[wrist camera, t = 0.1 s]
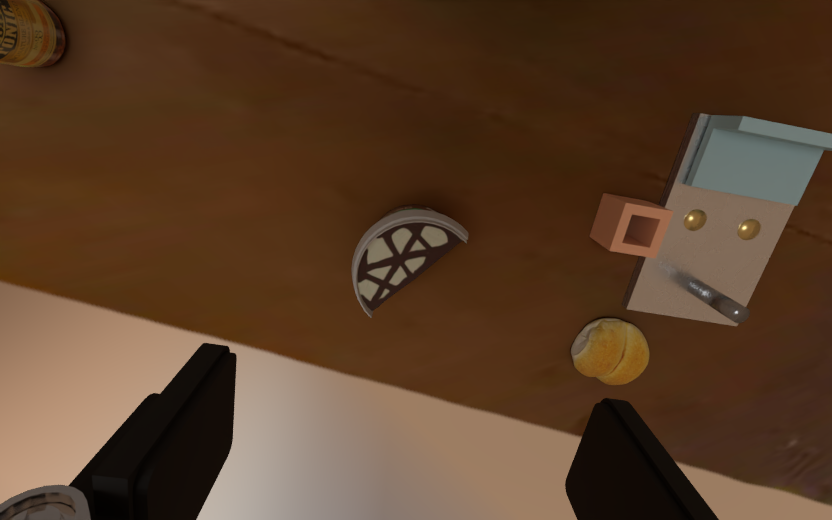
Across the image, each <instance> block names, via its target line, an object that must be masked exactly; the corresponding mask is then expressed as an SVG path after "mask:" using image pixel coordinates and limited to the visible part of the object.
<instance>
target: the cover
mask: <svg viewBox="0 0 832 520" xmlns="http://www.w3.org/2000/svg"><path fill="white" fill-rule="evenodd" d="M824 150H831V151H832V134H830V133H825V132H820V131H815V130H810V129H805V128H800V127H795V126H790V125H785V124H780V123H775V122H770V121H765V120H760V119H755V118H750V117H745V116H723V115H712V116H711V119H710V121H709V124H708V127H707V129H706V132H705V134H704V137H703V140H702V142H701V145H700V147H699V150H698V152H697V155H696V158H695V160H694V163H693V165H692V168H691V171H690V173H689V176H688V178H687V181H686V183H685V185H689V186H693V187H698V188H704V189H709V190H715V191H720V192H725V193H731V194H736V195H742V196H747V197H753V198H758V199H764V200H769V201H775V202H780V203H786V204H791V205H796V206H797V205H798V203H799V201H800V199H801V197H802V195H803V192H804V190H805V188H806V186H807V184H808V182H809V180H810V178H811V176H812V174H813V172H814V170H815V168H816V166H817V163H818V161H819V159H820V157H821V155H822V153H823V151H824Z"/></svg>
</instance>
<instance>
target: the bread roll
mask: <svg viewBox="0 0 832 520" xmlns="http://www.w3.org/2000/svg"><path fill="white" fill-rule="evenodd" d="M571 354H572V358H573V362H574V366H575V368H576V369H577V370H578V371H579V372H580V373H581V374H583V375H585V376H588V377H597V378H598V379H599V380H601V381H602V382H604V383H606V384H610V385H621V384H626V383H628V382H630V381H632V380H634V379H635V378H636V377H638V376H639V375H640V374H641V373H642V372H643V371H644V369H645V368H646V366H647V364H648V361H649V349H648V345H647V341H646V339H645V337H644V336H643V334H642V333H641V331H640V330H639V329H638V328H637V327H636V326H634V325H633V324H631V323H628V322H624V321H622V320H620V319H616V318H603V319H598V320H595V321H593V322H591V323H589V324H587V325H586V326H585V327H584V329H583V330H582V331H581V332H580V333H579V334H578V336H577V338H576V339H575V341H574V343H573V345H572V348H571Z"/></svg>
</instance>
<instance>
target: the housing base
mask: <svg viewBox="0 0 832 520" xmlns="http://www.w3.org/2000/svg"><path fill="white" fill-rule="evenodd" d="M711 116H712V115H707V114H702V113H693V114H692V117H691V120H690V122H689V125H688V128H687V131H686V133H685V136H684V139H683V141H682V144H681V147H680V149H679V152H678V155H677V157H676V160H675V163H674V165H673V168H672V171H671V173H670V176H669V179H668V181H667V184H666V187H665V190H664V192H663V195H662V198H661V200H660V203H659V206H661V207H664V208H667V209H669V210H672V211H674V212H673V215H672V217H671V220H670V222H669V225H668V228H667V230H666V233H665V235H664V238H663V240H662V243H661V246H660V248H659V251H658V253H657V256H656V258H650V257H644V256H640V257H639V259H638V262H637V265H636V267H635V270H634V273H633V275H632V278H631V281H630V283H629V286H628V289H627V291H626V294H625V297H624V299H623V302H622V306H624V307H625V308H626V309H629V310H635V311H642V312H648V313H655V314H661V315H668V316H674V317H681V318H687V319H694V320H700V321H706V322H713V323H719V324H726V325H732V326H737V324H738V323H741V322H744V321H745V320H746V319H747V318H748V317H749V314H750V312H749V309H748V308H746V306H747V304H748V302H749V299H750V297H751V295H752V293H753V291H754V289H755V287H756V285H757V283H758V281H759V279H760V277H761V275H762V272H763V270H764V268H765V266H766V264H767V262H768V260H769V258H770V256H771V254H772V252H773V250H774V247H775V245H776V243H777V241H778V239H779V237H780V235H781V233H782V231H783V229H784V227H785V225H786V223H787V220H788V218H789V216H790V214H791V212H792V210H793V208H794V206H795V205H791V204H786V203H780V202H775V201H769V200H764V199H758V198H753V197H747V196H742V195H736V194H731V193H725V192H720V191H715V190H709V189H704V188H698V187H693V186H689V185H685V183H686V181H687V178H688V176H689V173H690V171H691V168H692V165H693V163H694V160H695V158H696V155H697V152H698V150H699V147H700V145H701V142H702V140H703V137H704V134H705V132H706V129H707V127H708V124H709V121H710V119H711Z"/></svg>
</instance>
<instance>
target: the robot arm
mask: <svg viewBox="0 0 832 520" xmlns="http://www.w3.org/2000/svg"><path fill="white" fill-rule="evenodd" d="M235 378H236V354H235V353H230V350H229V347H228V346H223V345H216V344H209V343H203V344H202V345H201V346H200V347H199V348H198V350H197V351H196V352H195V353H194V355H193V356H192V357H191V358H190V359H189V361H188V362H187V363H186V364H185V365H184V366H183V368H182V369H181V370H180V371H179V372H178V373H177V375H176V376H175V377H174V378H173V379H172V381H171V382H170V383H169V384H168V385H167V386H166V388H165V389H164V390H163V391H162V392H161V394H156V393H153V394H150V395H149V396H148V397H147V398H145V399H144V401H143V402H142V403H141V404H140V405H139V406H138V407H137V409H136V410H135V411H134V412H133V413H132V414H131V415H130V416H129V418H128V419H127V420H126V421H125V422H124V423H123V424H122V426H121V427H120V428H119V429H118V430H117V431H116V432H115V433H114V435H113V436H112V437H111V438H110V439H109V440H108V441H107V443H106V444H105V445H104V446H103V447H102V448H101V449H100V451H99V452H98V453H97V454H96V455H95V456H94V457H93V458H92V460H91V461H90V462H89V463H88V464H87V465H86V466H85V468H84V469H83V470H82V471H81V472H80V473H79V474H78V475H77V477H76V478H75V479H74V480H73V481H72V483H70V485H69V486H65V485H51V486H43V487H39V488H35V489H31V490H28V491H26V492H23V493H21V494H19V495H16V496H14V497H12V498H10V499H8V500H7V501H5V502H4V503H2V504H0V520H196V519H197V516H198V515H199V513H200V511H201V509H202V506H203V505H204V502H205V501H206V499H207V497H208V495H209V493H210V491H211V489H212V487H213V485H214V483H215V481H216V479H217V477H218V475H219V473H220V471H221V469H222V467H223V465H224V463H225V461H226V459H227V457H228V454H229V452H230V449H231V445H232V439H233V420H234V398H235ZM565 486H566V493H567V496H568V498H569V501H570V503H571V505H572V508H573V510H574V513H575V515H576V517H577V519H578V520H719V519H718V518H717V517H716V515H715V514H714V513H713V511H712V510H711V509H710V507H709V506H708V505H707V504H706V502H705V501H704V500H703V498H702V497H701V496H700V494H699V493H698V492H697V490H696V489H695V488H694V487H693V485H692V484H691V483H690V481H689V480H688V479H687V477H686V476H685V475H684V473H683V472H682V471H681V469H680V468H679V467H678V466H677V464H676V463H675V462H674V460H673V459H672V458H671V456H670V455H669V454H668V452H667V451H666V450H665V449H664V447H663V446H662V445H661V443H660V442H659V441H658V439H657V438H656V437H655V435H654V434H653V433H652V431H651V430H650V429H649V428H648V426H647V425H646V424H645V422H644V421H643V420H642V418H641V417H640V416H639V414H638V413H637V412H636V411H635V409H634V408H633V407H632V405H631V404H630V403H629V402H627V401H623V400H616V399H609V398H605V399H603V400H602V401H601V402H600V403H597V404H595V406H594V408H593V411H592V413H591V416H590V418H589V421H588V423H587V426H586V429H585V431H584V434H583V436H582V439H581V442H580V444H579V447H578V450H577V452H576V455H575V458H574V460H573V462H572V465H571V468H570V470H569V473H568V476H567V478H566V484H565Z"/></svg>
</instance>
